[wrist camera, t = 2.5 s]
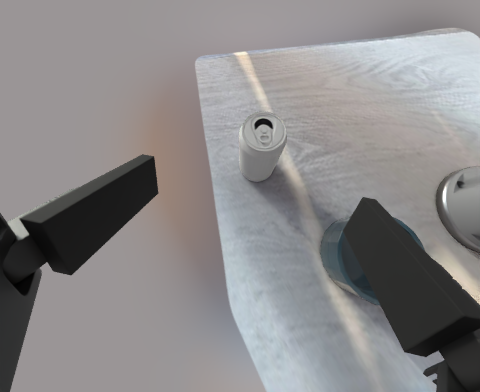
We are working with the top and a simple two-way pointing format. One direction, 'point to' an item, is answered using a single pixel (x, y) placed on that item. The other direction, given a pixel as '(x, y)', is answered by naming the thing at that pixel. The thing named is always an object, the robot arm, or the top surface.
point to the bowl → (349, 260)
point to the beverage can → (261, 145)
